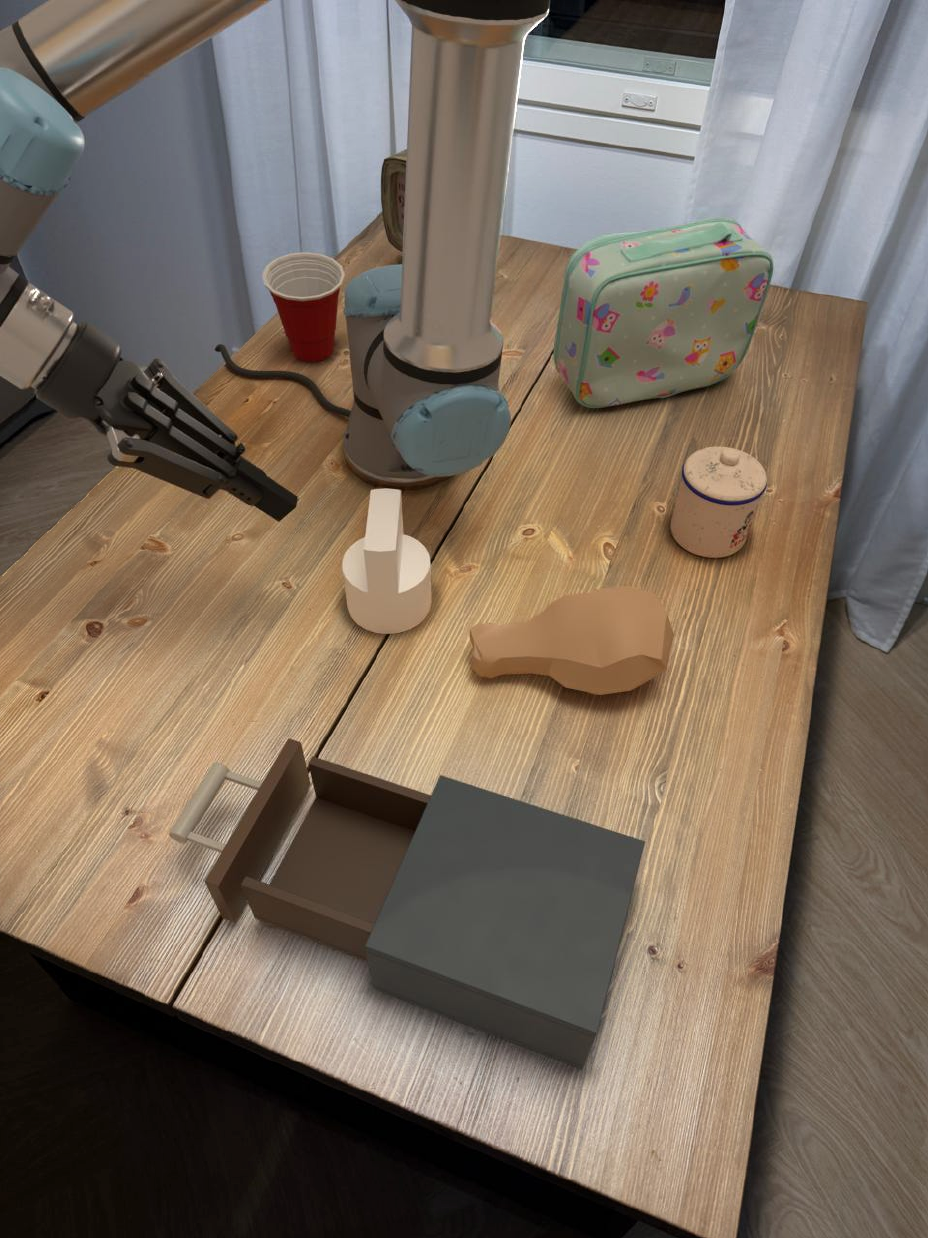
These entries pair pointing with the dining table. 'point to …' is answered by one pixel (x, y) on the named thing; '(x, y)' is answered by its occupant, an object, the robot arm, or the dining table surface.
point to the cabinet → (506, 919)
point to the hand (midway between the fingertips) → (288, 509)
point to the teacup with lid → (717, 501)
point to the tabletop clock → (394, 198)
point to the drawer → (309, 847)
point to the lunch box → (659, 311)
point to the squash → (582, 641)
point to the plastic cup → (306, 301)
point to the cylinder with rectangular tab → (387, 571)
